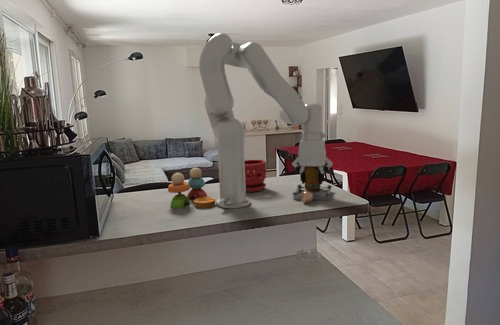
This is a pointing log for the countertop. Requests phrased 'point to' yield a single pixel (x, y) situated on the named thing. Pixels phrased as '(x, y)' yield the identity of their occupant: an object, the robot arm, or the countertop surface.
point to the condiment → (312, 179)
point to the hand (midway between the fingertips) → (312, 182)
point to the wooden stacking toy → (195, 184)
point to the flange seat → (311, 194)
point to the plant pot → (255, 175)
